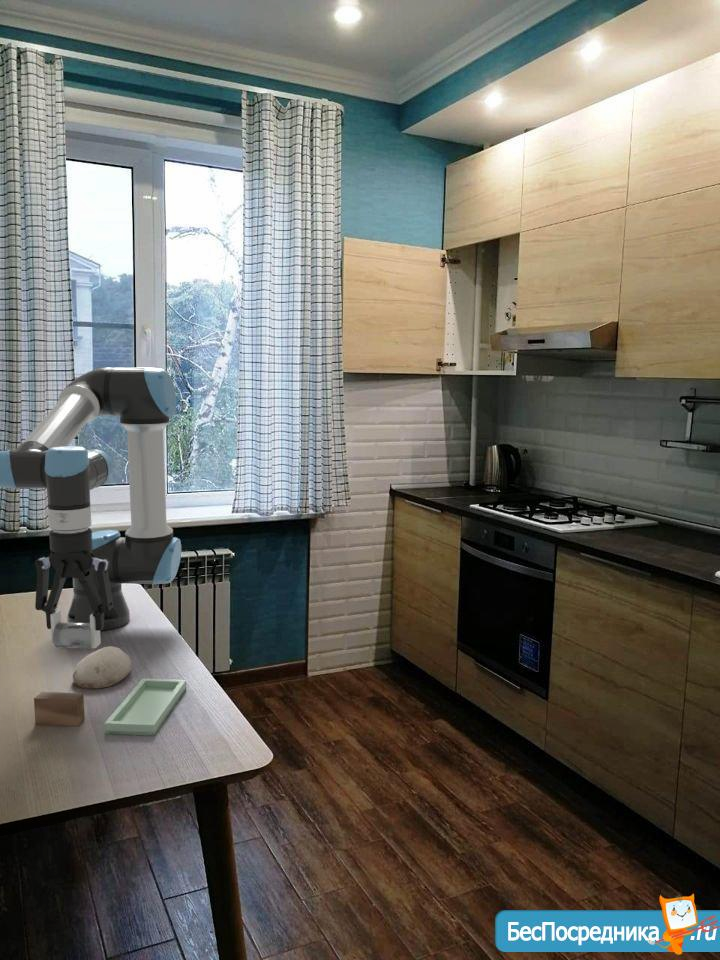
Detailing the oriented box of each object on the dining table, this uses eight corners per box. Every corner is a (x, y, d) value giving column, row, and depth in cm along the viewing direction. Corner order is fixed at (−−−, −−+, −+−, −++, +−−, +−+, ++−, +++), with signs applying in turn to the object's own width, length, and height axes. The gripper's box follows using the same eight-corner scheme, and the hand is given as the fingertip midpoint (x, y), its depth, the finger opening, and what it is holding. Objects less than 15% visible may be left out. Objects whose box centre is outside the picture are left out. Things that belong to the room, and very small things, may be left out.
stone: (95, 711, 157) (112, 684, 154) (58, 681, 158) (74, 654, 155) (130, 681, 169) (146, 656, 166) (95, 653, 170) (110, 628, 167)
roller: (64, 643, 151) (63, 619, 151) (99, 644, 151) (98, 620, 150) (53, 650, 146) (52, 626, 146) (89, 651, 146) (88, 627, 146)
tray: (142, 687, 157) (142, 678, 157) (186, 689, 157) (186, 680, 157) (104, 733, 138) (104, 723, 137) (154, 735, 137) (153, 725, 137)
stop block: (43, 717, 144) (41, 691, 143) (84, 718, 143) (83, 693, 143) (35, 724, 141) (33, 698, 140) (77, 726, 140) (76, 700, 140)
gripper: (9, 532, 142) (16, 650, 146) (114, 534, 141) (119, 654, 144) (28, 523, 149) (35, 636, 153) (129, 525, 148) (133, 639, 152)
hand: (76, 645), depth 149 cm, fingers closed on roller, 7 cm apart
